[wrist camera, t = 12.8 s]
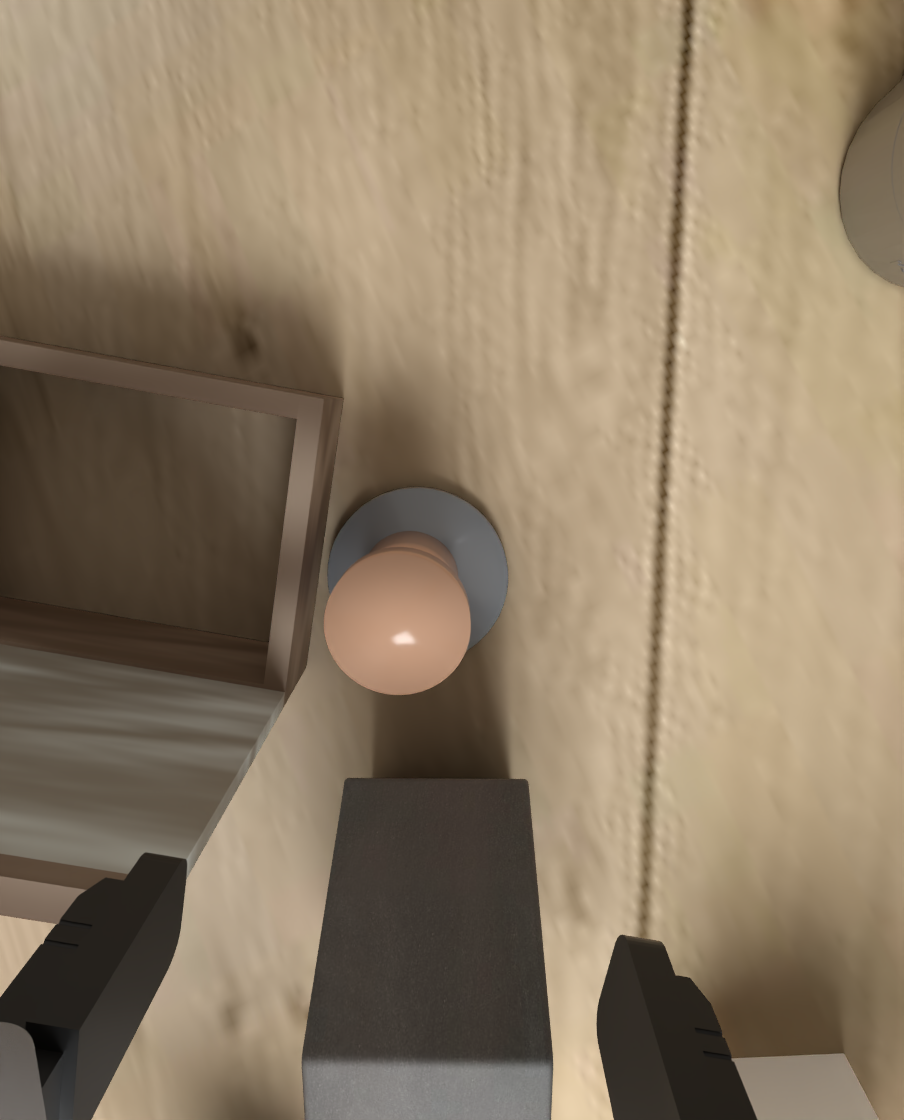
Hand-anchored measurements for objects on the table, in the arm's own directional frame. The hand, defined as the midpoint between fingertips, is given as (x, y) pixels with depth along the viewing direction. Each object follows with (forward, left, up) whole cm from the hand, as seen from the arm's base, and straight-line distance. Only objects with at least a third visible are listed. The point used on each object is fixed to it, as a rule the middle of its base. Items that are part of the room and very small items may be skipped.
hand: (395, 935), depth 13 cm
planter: (+16, +3, -24) cm, 29 cm away
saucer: (0, -1, -24) cm, 24 cm away
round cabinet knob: (0, -1, -23) cm, 23 cm away
